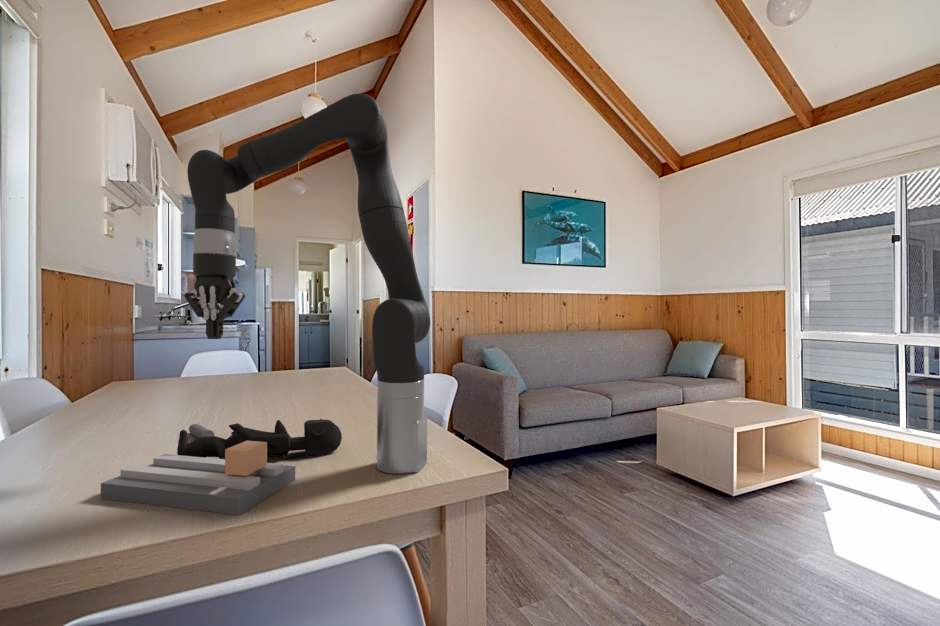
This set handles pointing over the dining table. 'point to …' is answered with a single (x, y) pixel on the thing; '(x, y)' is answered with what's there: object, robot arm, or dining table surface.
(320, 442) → the figurine
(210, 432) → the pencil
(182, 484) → the twin slider track
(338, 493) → the dining table surface
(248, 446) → the block
